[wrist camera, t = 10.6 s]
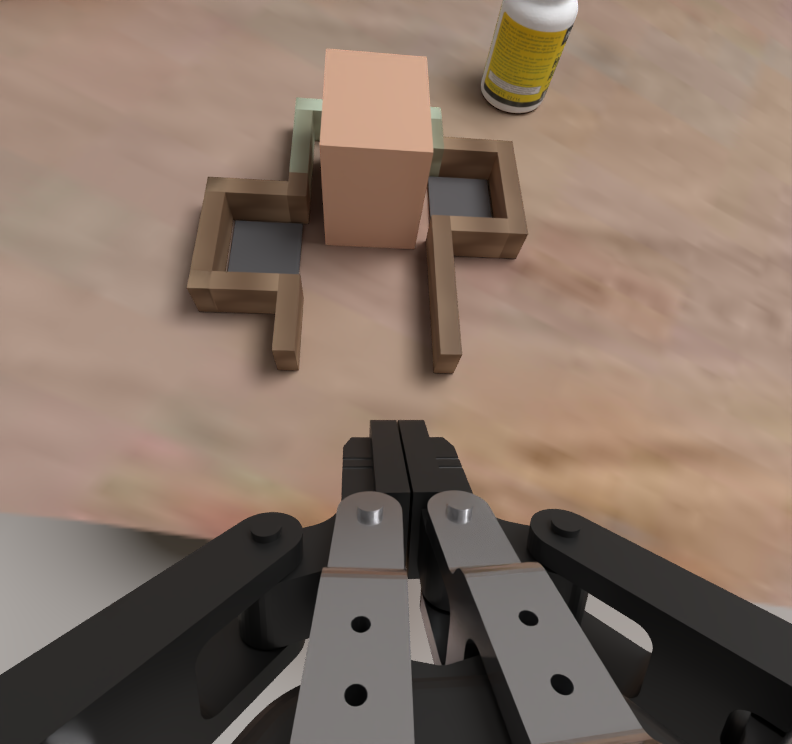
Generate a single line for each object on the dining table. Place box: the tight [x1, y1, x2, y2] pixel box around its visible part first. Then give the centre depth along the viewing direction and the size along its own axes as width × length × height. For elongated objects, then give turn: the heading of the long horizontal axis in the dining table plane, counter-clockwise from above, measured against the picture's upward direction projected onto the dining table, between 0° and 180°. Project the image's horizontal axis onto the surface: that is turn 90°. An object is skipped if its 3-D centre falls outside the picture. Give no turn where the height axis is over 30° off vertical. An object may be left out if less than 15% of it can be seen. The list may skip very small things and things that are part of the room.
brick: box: [320, 49, 433, 249], centre depth 31 cm, size 6×8×8 cm
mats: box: [228, 176, 492, 274], centre depth 33 cm, size 18×11×1 cm, turn 91°
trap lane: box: [187, 98, 528, 373], centre depth 32 cm, size 20×20×2 cm
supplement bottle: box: [481, 0, 578, 113], centre depth 36 cm, size 5×5×10 cm
